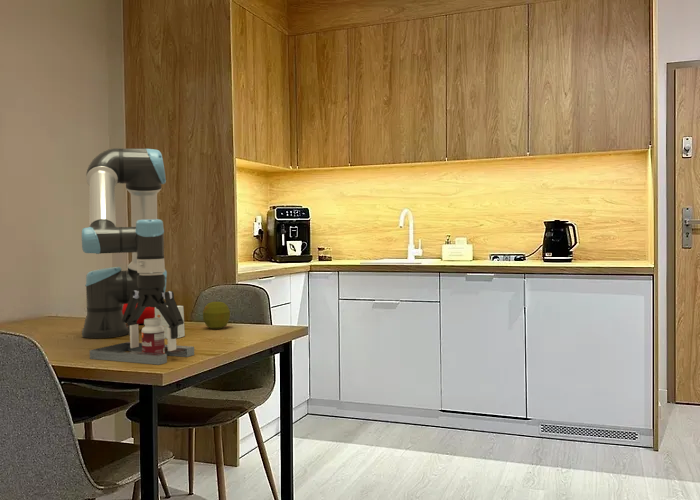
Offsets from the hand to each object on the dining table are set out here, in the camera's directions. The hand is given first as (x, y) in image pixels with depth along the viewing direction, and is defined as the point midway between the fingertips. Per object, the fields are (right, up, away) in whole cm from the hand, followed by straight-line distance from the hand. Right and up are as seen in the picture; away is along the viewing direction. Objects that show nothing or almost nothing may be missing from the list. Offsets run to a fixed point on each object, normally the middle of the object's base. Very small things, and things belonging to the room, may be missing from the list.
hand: (153, 348), depth 194 cm
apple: (+7, -1, +55) cm, 56 cm away
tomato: (-26, -1, +72) cm, 76 cm away
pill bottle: (0, -3, 0) cm, 3 cm away
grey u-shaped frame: (-4, -3, +2) cm, 5 cm away
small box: (-5, -2, +37) cm, 37 cm away
